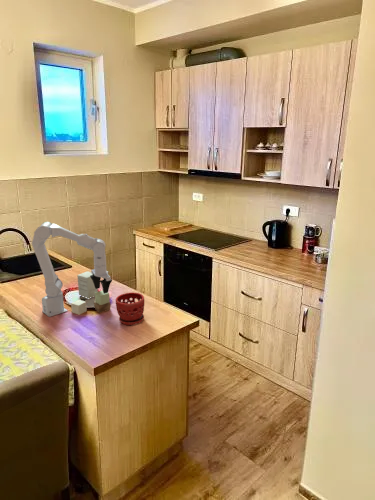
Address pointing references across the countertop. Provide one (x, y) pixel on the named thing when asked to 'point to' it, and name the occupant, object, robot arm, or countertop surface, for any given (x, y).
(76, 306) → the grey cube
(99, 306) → the walnut block
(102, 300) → the sage cube
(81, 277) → the supplement box
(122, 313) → the plant pot
